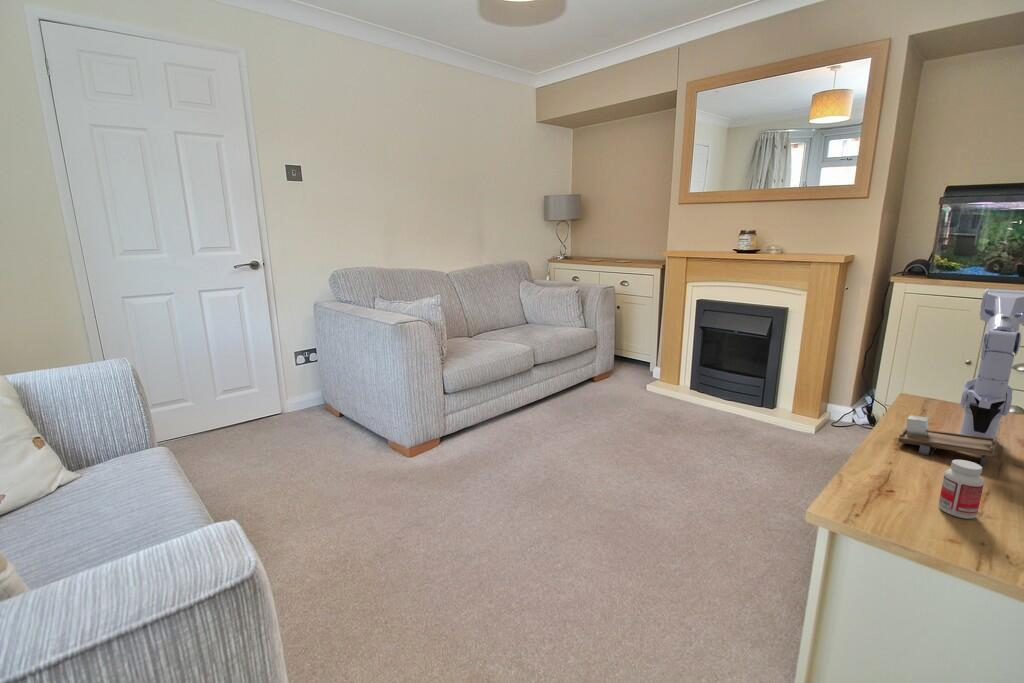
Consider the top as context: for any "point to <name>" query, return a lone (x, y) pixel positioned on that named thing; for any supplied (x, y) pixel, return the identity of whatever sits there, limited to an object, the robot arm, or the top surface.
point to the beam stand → (930, 450)
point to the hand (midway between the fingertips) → (981, 428)
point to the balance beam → (953, 442)
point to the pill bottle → (962, 489)
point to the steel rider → (917, 426)
